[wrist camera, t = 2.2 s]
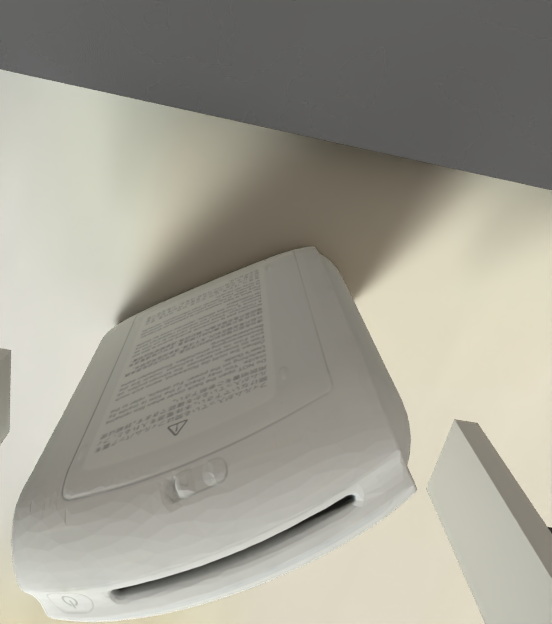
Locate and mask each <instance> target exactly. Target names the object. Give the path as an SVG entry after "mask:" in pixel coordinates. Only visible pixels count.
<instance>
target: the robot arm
mask: <svg viewBox="0 0 552 624" xmlns="http://www.w3.org/2000/svg"><path fill="white" fill-rule="evenodd" d="M10 375H11V350H7V349H0V444H1V443H2V442H3V440H4V439H5V437H6V436H7V434H8V433H9V427H10ZM426 490H427V492H428V494H429V496H430V499H431V501H432V503H433V506H434V508H435V510H436V512H437V515H438V517H439V519H440V522H441V524H442V526H443V528H444V531H445V533H446V535H447V538H448V540H449V542H450V544H451V547H452V549H453V551H454V554H455V556H456V558H457V560H458V563H459V565H460V567H461V570H462V572H463V574H464V576H465V579H466V581H467V583H468V586H469V588H470V590H471V592H472V595H473V597H474V599H475V602H476V604H477V606H478V608H479V611H480V613H481V615H482V618H483V620H484V622H485V624H552V528H550V527H547V526H546V524H545V523H544V521H543V520H542V518H541V517H540V515H539V514H538V512H537V511H536V509H535V508H534V506H533V505H532V503H531V502H530V500H529V499H528V497H527V496H526V495H525V493H524V492H523V490H522V489H521V487H520V486H519V484H518V483H517V481H516V480H515V478H514V477H513V475H512V474H511V472H510V471H509V469H508V468H507V466H506V465H505V463H504V462H503V460H502V459H501V457H500V456H499V454H498V453H497V451H496V450H495V448H494V447H493V445H492V444H491V442H490V441H489V439H488V438H487V436H486V435H485V433H484V432H483V430H482V429H481V427H480V426H479V424H478V423H474V422H467V421H461V420H455V419H454V422H453V424H452V427H451V429H450V432H449V434H448V436H447V439H446V441H445V444H444V446H443V449H442V451H441V454H440V456H439V458H438V461H437V463H436V466H435V468H434V471H433V473H432V475H431V478H430V480H429V483H428V485H427V488H426Z"/></svg>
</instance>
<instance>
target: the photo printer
mask: <svg viewBox="0 0 552 624" xmlns="http://www.w3.org/2000/svg"><path fill="white" fill-rule="evenodd" d="M410 443H411V435H410V427H409V421H408V416H407V413H406V410H405V407H404V405H403V402H402V400H401V397H400V395H399V393H398V391H397V389H396V387H395V385H394V383H393V381H392V379H391V377H390V375H389V373H388V371H387V369H386V367H385V365H384V363H383V360H382V358H381V356H380V354H379V352H378V350H377V348H376V346H375V344H374V342H373V340H372V338H371V336H370V334H369V331H368V329H367V327H366V325H365V323H364V321H363V319H362V317H361V315H360V313H359V311H358V309H357V306H356V304H355V302H354V300H353V298H352V296H351V294H350V292H349V290H348V288H347V286H346V284H345V282H344V280H343V278H342V276H341V274H340V272H339V271H338V269H337V268H336V266H335V265H334V264H333V263H332V262H331V261H330V260H329V259H328V258H326V257H325V256H323V255H321V254H320V253H318V250H317V249H316V247H314V246H311V247H304V248H299V249H294V250H291V251H287V252H284V253H281V254H278V255H275V256H272V257H270V258H267V259H265V260H262V261H259V262H257V263H254V264H251V265H249V266H247V267H244V268H242V269H239V270H237V271H234V272H232V273H229V274H227V275H224V276H222V277H220V278H217V279H215V280H213V281H210V282H208V283H205V284H203V285H201V286H198V287H196V288H194V289H191V290H189V291H187V292H184V293H182V294H180V295H177V296H175V297H173V298H170V299H168V300H166V301H163V302H161V303H159V304H157V305H154V306H152V307H150V308H148V309H146V310H144V311H142V312H139V313H138V314H136V315H134V316H132V317H130V318H128V319H126V320H124V321H123V322H121V323H120V324H118V325H117V326H115V327H114V328H113V329H111V330H110V331H109V332H108V333H106V335H105V336H104V337H103V339H102V340H101V342H100V344H99V346H98V348H97V350H96V352H95V354H94V356H93V358H92V360H91V362H90V364H89V366H88V367H87V369H86V371H85V373H84V375H83V377H82V379H81V381H80V383H79V385H78V386H77V388H76V390H75V392H74V394H73V396H72V398H71V400H70V402H69V404H68V406H67V407H66V409H65V411H64V413H63V415H62V417H61V419H60V421H59V423H58V424H57V426H56V428H55V430H54V432H53V434H52V436H51V438H50V439H49V441H48V443H47V445H46V447H45V449H44V451H43V453H42V455H41V457H40V458H39V460H38V462H37V464H36V466H35V468H34V470H33V472H32V474H31V475H30V477H29V479H28V481H27V482H26V484H25V486H24V488H23V490H22V492H21V494H20V497H19V499H18V502H17V504H16V508H15V513H14V518H13V526H12V537H11V547H12V561H13V566H14V571H15V576H16V580H17V583H18V585H19V587H20V588H21V589H22V591H23V592H26V593H28V594H30V595H32V596H33V597H35V598H36V599H37V600H38V601H39V602H40V604H41V606H42V607H43V609H44V611H45V613H46V615H47V616H49V617H50V618H52V619H59V620H67V621H81V622H105V621H119V620H128V619H137V618H145V617H151V616H156V615H161V614H167V613H171V612H175V611H179V610H184V609H188V608H191V607H195V606H199V605H202V604H206V603H209V602H212V601H215V600H219V599H222V598H225V597H228V596H231V595H234V594H237V593H240V592H242V591H245V590H248V589H250V588H253V587H256V586H258V585H261V584H263V583H266V582H268V581H271V580H273V579H275V578H278V577H280V576H282V575H285V574H287V573H289V572H291V571H293V570H295V569H298V568H300V567H302V566H304V565H306V564H308V563H310V562H312V561H314V560H316V559H318V558H320V557H322V556H324V555H326V554H328V553H330V552H331V551H333V550H335V549H337V548H338V547H340V546H342V545H344V544H345V543H347V542H349V541H350V540H352V539H354V538H355V537H357V536H358V535H360V534H362V533H363V532H365V531H367V530H368V529H370V528H371V527H373V526H374V525H376V524H377V523H379V522H380V521H381V520H383V519H384V518H385V517H387V516H388V515H389V514H390V513H392V512H393V511H394V510H396V509H397V508H398V507H399V506H401V505H402V504H403V503H404V502H405V501H407V500H408V499H409V498H410V497H411V496H412V495H413V494H414V493H415V492H416V490H417V488H416V485H415V483H414V480H413V478H412V476H411V474H410V471H409V469H408V467H407V464H408V459H409V455H410Z"/></svg>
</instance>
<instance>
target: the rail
mask: <svg viewBox="0 0 552 624" xmlns="http://www.w3.org/2000/svg"><path fill="white" fill-rule="evenodd" d="M0 69H2V70H6V71H11V72H16V73H20V74H25V75H29V76H34V77H38V78H43V79H47V80H52V81H57V82H61V83H66V84H70V85H75V86H79V87H84V88H88V89H93V90H98V91H102V92H107V93H111V94H116V95H120V96H125V97H130V98H134V99H139V100H143V101H148V102H152V103H157V104H161V105H166V106H171V107H175V108H180V109H184V110H189V111H193V112H198V113H202V114H207V115H212V116H216V117H221V118H225V119H230V120H234V121H239V122H244V123H248V124H253V125H257V126H262V127H266V128H271V129H275V130H280V131H285V132H289V133H294V134H298V135H303V136H307V137H312V138H316V139H321V140H326V141H330V142H335V143H339V144H344V145H348V146H353V147H357V148H362V149H367V150H371V151H376V152H380V153H385V154H389V155H394V156H399V157H403V158H408V159H412V160H417V161H421V162H426V163H430V164H435V165H440V166H444V167H449V168H453V169H458V170H462V171H467V172H471V173H476V174H481V175H485V176H490V177H494V178H499V179H503V180H508V181H513V182H517V183H522V184H526V185H531V186H535V187H540V188H544V189H549V190H552V0H0Z"/></svg>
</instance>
